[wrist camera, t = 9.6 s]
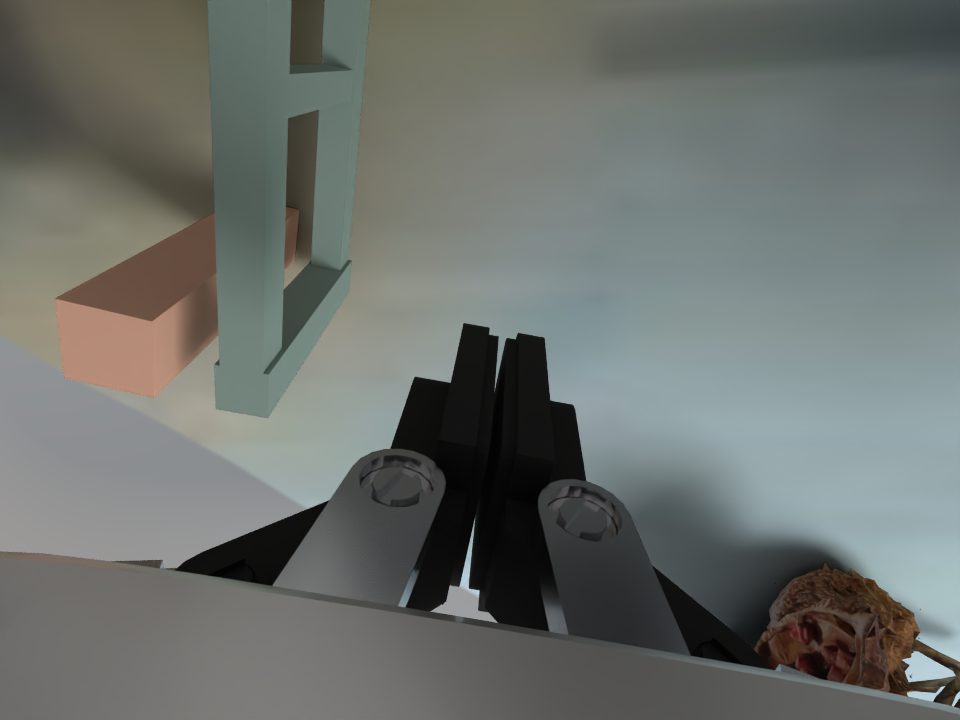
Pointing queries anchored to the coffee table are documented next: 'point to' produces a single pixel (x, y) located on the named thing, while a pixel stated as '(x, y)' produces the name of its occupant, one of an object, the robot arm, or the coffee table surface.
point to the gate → (278, 189)
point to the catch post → (148, 312)
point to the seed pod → (849, 635)
